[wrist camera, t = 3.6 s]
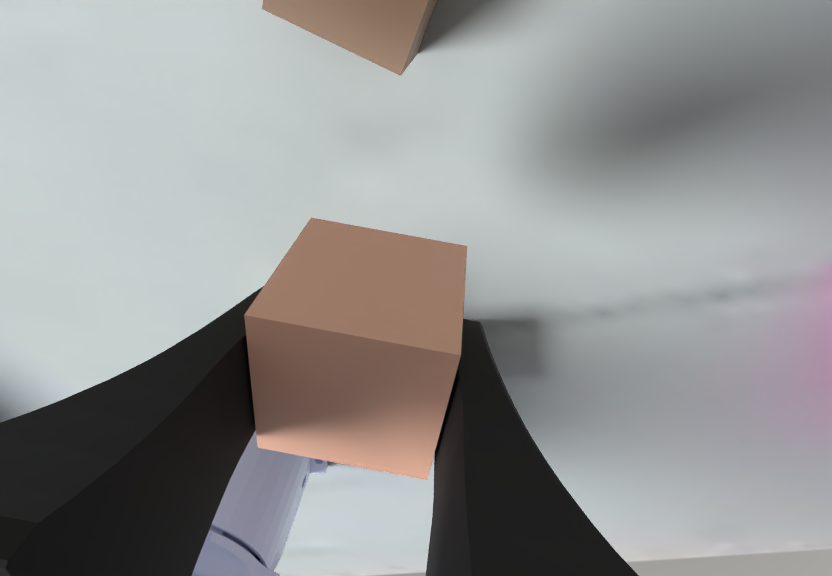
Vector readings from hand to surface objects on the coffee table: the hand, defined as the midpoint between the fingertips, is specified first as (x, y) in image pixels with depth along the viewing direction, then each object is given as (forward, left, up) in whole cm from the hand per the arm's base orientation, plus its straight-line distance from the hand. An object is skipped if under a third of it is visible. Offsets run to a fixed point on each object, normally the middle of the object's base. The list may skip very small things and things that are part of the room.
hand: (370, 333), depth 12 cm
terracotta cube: (0, 0, -2) cm, 2 cm away
